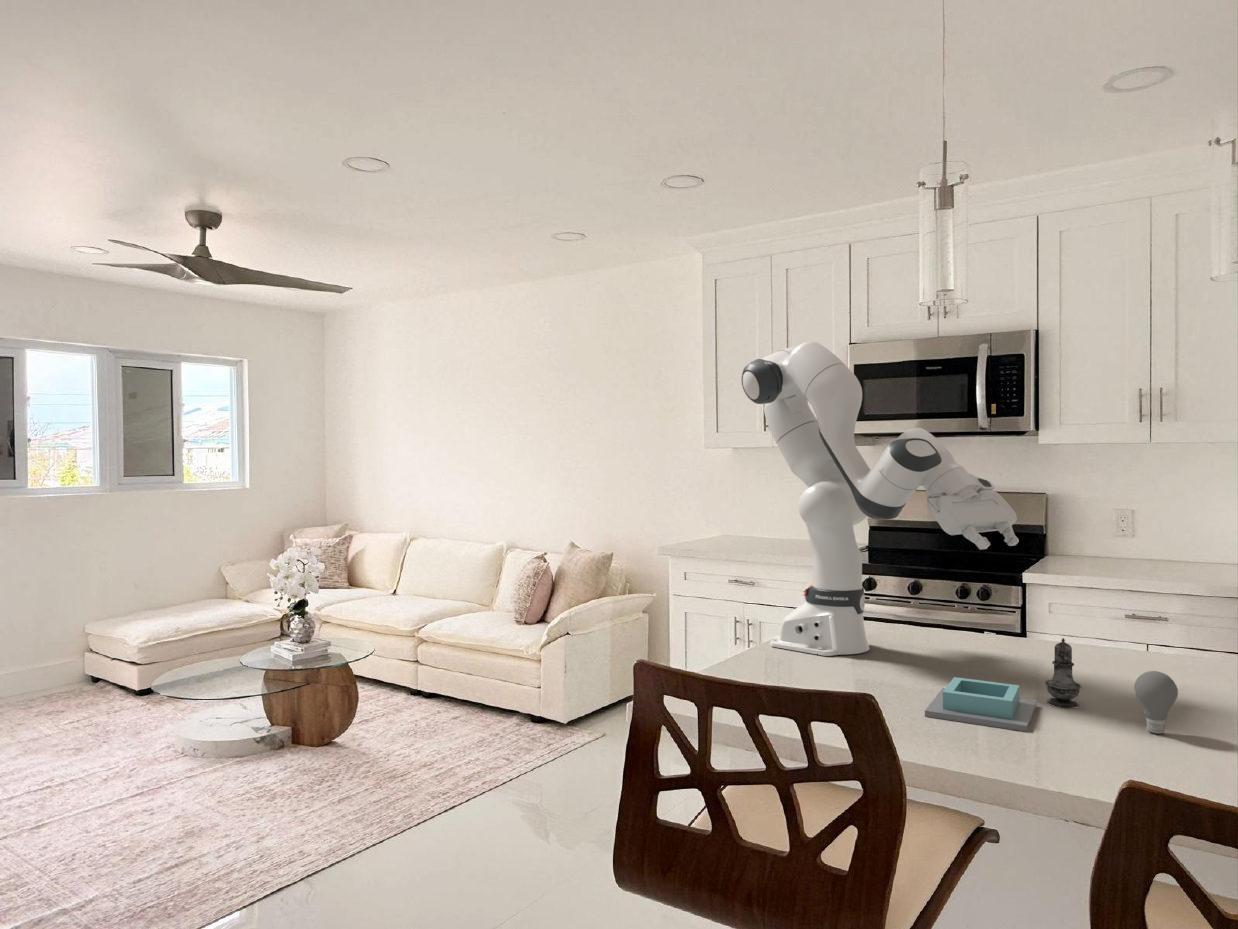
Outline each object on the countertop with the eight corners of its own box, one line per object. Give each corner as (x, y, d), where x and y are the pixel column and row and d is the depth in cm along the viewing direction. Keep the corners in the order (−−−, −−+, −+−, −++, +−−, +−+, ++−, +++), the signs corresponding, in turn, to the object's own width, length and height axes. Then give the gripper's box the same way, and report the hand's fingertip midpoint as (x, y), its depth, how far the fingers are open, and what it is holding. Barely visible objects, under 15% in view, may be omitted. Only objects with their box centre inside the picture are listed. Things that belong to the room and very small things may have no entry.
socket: (924, 716, 147) (924, 693, 147) (942, 693, 161) (942, 672, 161) (1026, 731, 139) (1026, 707, 139) (1036, 706, 152) (1036, 684, 152)
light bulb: (1168, 741, 134) (1168, 678, 134) (1127, 731, 139) (1127, 670, 138) (1184, 734, 137) (1184, 672, 137) (1143, 724, 142) (1144, 665, 142)
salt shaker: (1039, 703, 154) (1039, 637, 154) (1053, 697, 158) (1053, 633, 158) (1073, 711, 150) (1073, 643, 149) (1086, 704, 153) (1087, 638, 153)
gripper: (932, 483, 164) (978, 538, 156) (995, 480, 175) (1041, 531, 167) (913, 505, 168) (957, 560, 160) (975, 501, 179) (1019, 552, 171)
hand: (1000, 545), depth 163 cm, fingers open, 8 cm apart
